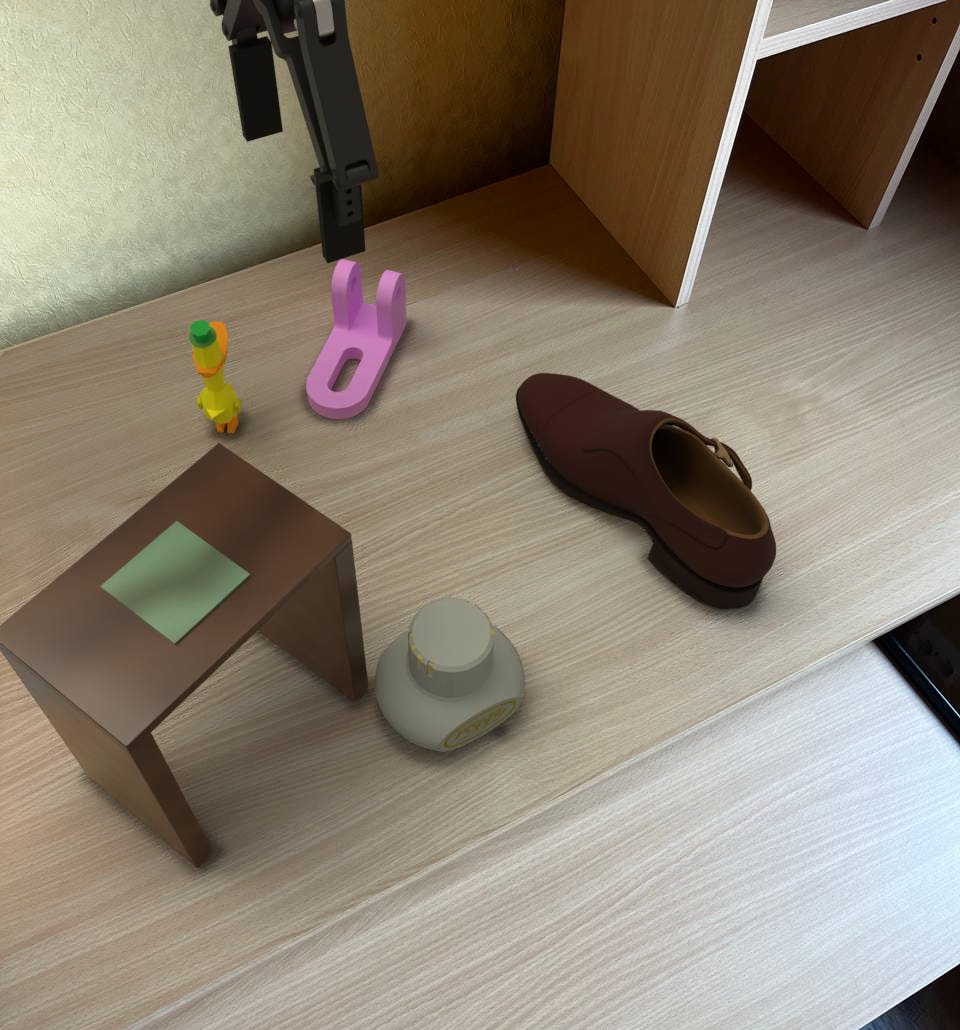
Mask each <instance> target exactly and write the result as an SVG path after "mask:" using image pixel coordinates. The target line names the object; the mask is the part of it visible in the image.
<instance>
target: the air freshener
mask: <svg viewBox="0 0 960 1030" xmlns="http://www.w3.org/2000/svg"><path fill="white" fill-rule="evenodd" d="M525 677H526V676H525V668H524V665H523V662H522V658H521V656H520V654H519V652H518V650H517V648H516V647H515V645H514V644H513V642H512V641H511V640H510V638H509V637H508V636H507V635H506V634H505V633H504V632H503V631H502V630H501V629H499V627H497V626H495V625H494V624H493V623H492V621H491V620H490V616H489V615H488V613H487V612H485V611H484V610H483V609H482V608H481V607H480V606H479V605H477V604H476V603H471V602H470V601H469V600H467V599H464V598H459V597H442V598H438V599H434V600H432V601H430V602H428V603H426V604H425V605H423V606H422V607H420V608H419V609H418V610H417V611H416V613H414V615H413V617H412V618H411V619H410V623H409V626H408V630H407V631H405V632H404V633H402V634H401V635H399V636H398V637H397V638H395V639H393V641H392V642H390V644H388V645H387V646H386V647H385V649H383V650H382V652H381V654H379V658H378V660H377V662H376V666H375V674H374V691H375V696H376V701H377V704H378V706H379V708H380V711H381V713H382V715H383V717H384V718H385V720H386V721H387V722H388V724H389V725H390V726H391V727H392V728H393V729H394V731H395V732H396V733H397V734H399V735H400V736H401V737H403V738H404V739H406V741H409V742H410V743H412V744H415V745H417V746H418V747H421V748H424V749H427V750H431V751H437V752H440V753H442V752H443V753H444V752H449V751H453V750H455V749H458V748H461V747H463V746H466V745H467V744H469V743H472V742H473V741H476V740H478V739H479V738H481V737H482V736H485V735H486V734H488V733H489V732H491V731H492V730H494V729H495V728H497V727H498V726H500V725H501V724H502V723H504V722H505V721H506V720H507V719H509V718H510V717H511V716H512V715H513V714H514V713H515V712H516V711H517V710H518V709H519V708H520V707H521V705H522V703H523V699H524V696H525V690H526V678H525Z"/></svg>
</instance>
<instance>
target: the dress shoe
mask: <svg viewBox="0 0 960 1030" xmlns="http://www.w3.org/2000/svg"><path fill="white" fill-rule="evenodd" d="M515 403H516V404H515V405H516V409H517V412H518V417H519V420H520V422H521V425H522V427H523V431H524V432H525V435H526V438H527V440H528V442H529V444H530V447H531V449H532V451H533V454H534V456H535V458H536V460H537V461H538V464H539V465H540V468H541V469H542V471H543V472H544V474H545V475H546V477H547V478H548V479H549V481H551V483H552V484H553V485H554V486H555V487H556V488H557V489H559V490H560V491H561V492H562V493H564V494H565V495H567V496H568V497H570V498H571V499H573V500H575V501H577V502H578V503H580V504H582V505H584V506H587V507H589V508H591V509H594V510H596V511H598V512H601V513H604V514H607V515H610V516H613V517H616V518H619V519H624V520H626V521H629V522H632V523H635V524H636V525H638V526H640V527H641V528H642V529H643V530H644V531H645V532H646V534H647V535H648V536H649V538H650V540H651V542H652V543H651V547H650V550H649V553H648V555H647V560H648V562H649V563H650V564H651V565H652V566H653V567H654V568H655V569H656V570H657V571H658V572H659V573H660V574H661V575H662V576H664V577H665V578H666V579H667V580H669V582H670V583H672V584H673V585H674V586H675V587H677V588H678V589H679V590H681V591H682V592H684V593H685V594H687V595H688V596H690V597H691V598H692V599H694V600H696V601H697V602H700V603H702V604H704V605H706V606H708V607H711V608H714V609H717V610H736V609H741V608H745V607H747V606H749V605H750V604H753V601H754V600H755V599H756V597H757V595H758V593H759V591H760V588H761V586H762V582H763V580H764V577H766V575H767V574H768V573H769V571H770V570H771V569H772V567H773V565H774V563H775V560H776V557H777V543H776V538H775V535H774V532H773V528H772V525H771V521H770V518H769V516H768V513H767V512H766V510H765V508H764V506H763V505H762V504H761V503H760V501H759V500H758V498H757V496H755V494H754V493H753V492H752V491H751V490H752V489H753V479H752V477H751V474H750V472H749V471H748V469H747V467H746V466H745V465H744V463H743V461H742V460H741V458H740V456H739V454H738V453H737V452H736V451H735V450H734V449H733V448H732V447H731V446H729V445H728V444H726V443H724V442H722V441H720V440H719V439H718V438H717V437H710V438H709V437H707V436H705V435H704V434H702V433H701V432H700V431H699V430H698V429H696V427H694V426H693V425H692V424H690V423H689V422H687V421H686V420H684V419H683V418H680V417H678V416H676V415H674V414H671V413H669V412H666V411H663V410H657V409H656V410H655V409H643V410H642V409H641V410H640V409H638V408H637V407H636V406H633V405H632V404H630V403H629V402H626V401H625V400H623V399H621V398H619V397H616V396H615V395H613V394H611V393H609V392H607V391H606V390H604V389H602V388H599V387H598V386H597V385H594V384H592V383H591V382H588V381H587V380H584V379H583V378H580V377H577V376H573V375H568V374H561V373H553V372H539V373H534V374H531V375H530V376H528V377H527V378H525V380H524V381H522V383H521V384H520V385H519V386H518V388H517V389H516V392H515ZM710 447H713V449H714V452H713V450H712V449H711V448H710ZM733 467H734V469H735V470H736V472H737V474H738V476H737V475H736V474H735V473H734V472H733V471H732V470H731V469H730V468H733Z"/></svg>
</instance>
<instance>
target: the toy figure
mask: <svg viewBox="0 0 960 1030" xmlns="http://www.w3.org/2000/svg"><path fill="white" fill-rule="evenodd" d="M189 329H190V332H189V334H188V340H189V342H190V344H191V346H192V354H191V357H192V359H193V362H194V366H195V368H196V371H197V374H198V375H199V376H201V379H202V380H203V382H204V385H205V386H204V388H203V389H202V390H201V391H200V392H199V395H196V405H197V408H198V410H199V411H202V410H203V412H204V416H205V418H207V419H209V420H211V421H213V422H215V424H216V432H217V433H224V432H225V429H226V427H227V431H226V432H227V434H234V433H235V432H236V429H237V427H238V426H239V422H240V421H239V416H238V414H239V413H240V412H241V411H242V404H243V403H242V402H243V401H242V398H241V397H237V395H236V392H235V389H234V386H233V385H231V384H229V383H227V382H225V372H224V365H225V364H226V360H227V355H228V347H229V335H228V331H227V327H226V325H225V323H224V322H223V321H211V322H209V321H206V320H204V319H199V320H194V321H193V322H192V323H191V325H190V326H189Z"/></svg>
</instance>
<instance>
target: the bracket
mask: <svg viewBox="0 0 960 1030" xmlns="http://www.w3.org/2000/svg"><path fill="white" fill-rule="evenodd" d="M362 278H363V277H362V268H361V265H360V263H359V262H357V261H353V260H348V259H346V258H343V259H340V260H338V261H337V264H336V265H335V268H334V269H333V274H332V278H331V285H330V286H331V287H330V296H331V303H332V313H333V328H332V331H331V332H330V333H329V337H328V338H327V340H326V342H325V344H324V346H323V347H322V349H321V352H320V353H319V355H318V357H317V359H316V361H315V362H314V365H313V367H312V368H311V371H310V372H309V374H308V375H307V378H306V382H305V389H306V396H307V401H308V404H309V406H310V408H311V409H312V410H313V411H314V412H315V413H316V414H317V415H320V416H322V417H324V418H327V419H332V420H347V419H350V418H353V417H355V416H357V415H359V414H360V413H362V412H363V411H364V410H365V409H366V408H367V407H368V406H369V404H370V401H371V400H372V397H373V395H374V393H375V391H376V389H377V387H378V386H379V382H380V381H381V379H382V377H383V374H384V372H385V371H386V368H387V367H388V364H389V362H390V360H391V358H392V355H393V353H394V351H395V349H396V347H397V345H398V343H399V341H400V339H401V337H402V334H403V332H404V330H405V328H406V326H407V301H406V300H407V296H406V295H407V293H406V276H405V274H404V273H401V272H398V271H394V270H390V269H385V270H384V271H383V273H382V274H381V277H380V279H379V282H378V285H377V286H378V287H377V290H376V299H375V304H372V303H367V302H364V295H363V294H364V293H363V280H362ZM352 359H353V360H354V359H356V360H360V361H359V364H358V366H357V368H356V370H355V371H354V374H353V376H352V378H351V380H350V381H349V384H348V385H347V388H345V389H344V390H342V391H333V390H332V389H333V387H334V386H335V385H334V384H335V383H336V381H337V379H338V377H339V374H340V373H341V371H342V369H343V367H344V365H345V363H346V362H347V361H349V360H352Z"/></svg>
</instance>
